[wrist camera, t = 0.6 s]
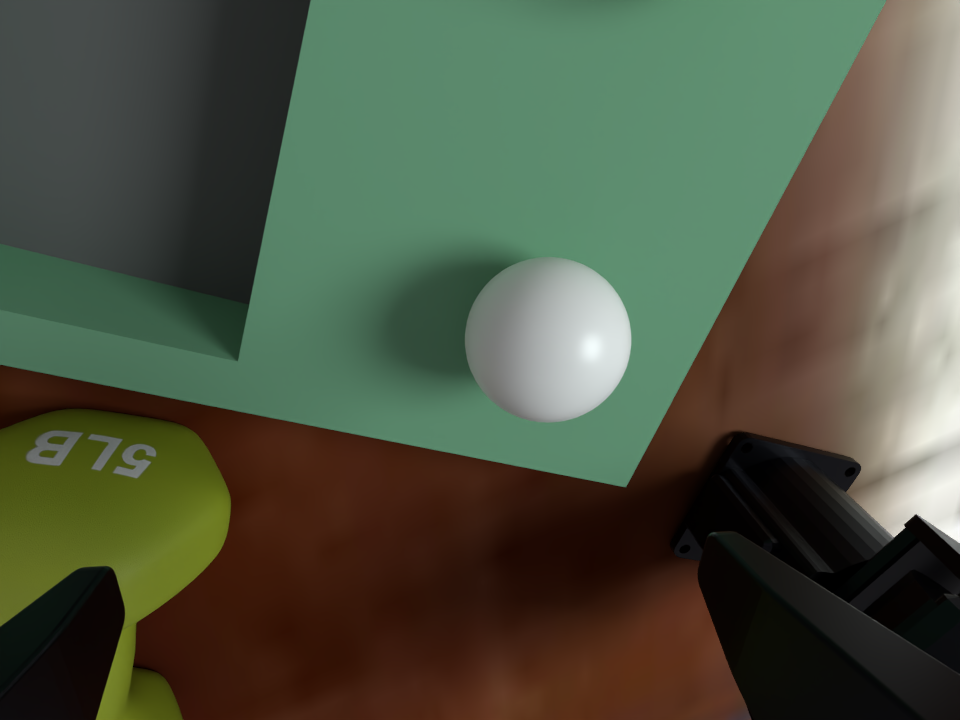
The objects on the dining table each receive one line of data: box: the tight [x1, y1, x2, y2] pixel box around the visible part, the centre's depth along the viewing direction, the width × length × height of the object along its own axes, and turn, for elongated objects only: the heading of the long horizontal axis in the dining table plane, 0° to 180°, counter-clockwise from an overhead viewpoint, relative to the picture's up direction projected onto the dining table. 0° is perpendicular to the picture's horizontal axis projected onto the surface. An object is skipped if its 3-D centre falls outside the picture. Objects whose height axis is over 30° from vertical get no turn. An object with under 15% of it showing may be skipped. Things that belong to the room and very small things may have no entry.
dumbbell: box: [0, 409, 231, 720], centre depth 20 cm, size 16×8×7 cm, turn 162°
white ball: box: [465, 257, 631, 423], centre depth 15 cm, size 4×4×4 cm
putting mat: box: [0, 0, 886, 487], centre depth 15 cm, size 21×22×4 cm
